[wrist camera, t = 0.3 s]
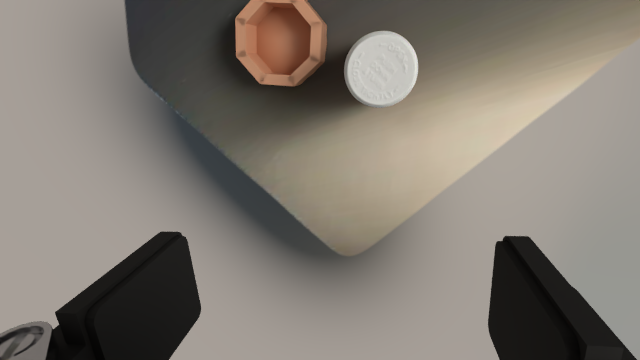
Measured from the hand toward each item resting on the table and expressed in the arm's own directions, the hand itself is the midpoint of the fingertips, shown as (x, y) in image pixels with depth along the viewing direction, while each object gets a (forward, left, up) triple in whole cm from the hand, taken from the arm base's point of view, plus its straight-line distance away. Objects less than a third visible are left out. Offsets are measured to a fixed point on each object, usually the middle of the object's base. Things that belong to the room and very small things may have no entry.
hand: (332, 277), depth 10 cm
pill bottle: (-6, +1, -30) cm, 31 cm away
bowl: (-8, -9, -30) cm, 32 cm away
